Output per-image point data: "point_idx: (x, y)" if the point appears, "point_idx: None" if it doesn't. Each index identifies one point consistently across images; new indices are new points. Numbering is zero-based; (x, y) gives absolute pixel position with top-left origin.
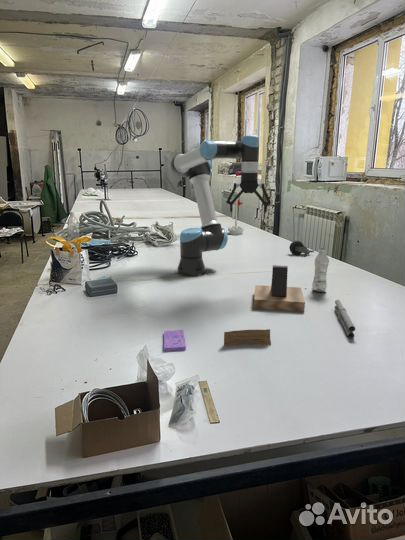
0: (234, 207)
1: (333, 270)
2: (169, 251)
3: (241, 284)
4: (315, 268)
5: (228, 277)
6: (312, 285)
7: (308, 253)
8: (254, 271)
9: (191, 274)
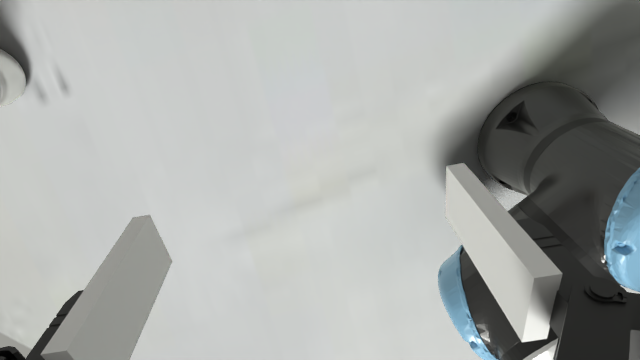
0: (502, 297)
1: (59, 300)
2: None
3: (313, 51)
4: None
5: (380, 120)
6: (10, 66)
7: None
8: (302, 215)
9: (532, 87)
